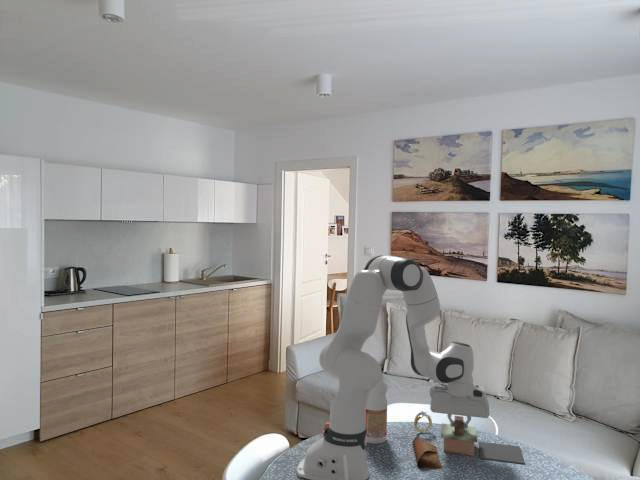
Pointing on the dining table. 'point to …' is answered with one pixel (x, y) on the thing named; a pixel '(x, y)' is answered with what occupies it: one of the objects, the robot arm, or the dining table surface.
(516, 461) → the mat
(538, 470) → the dining table surface
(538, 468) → the dining table surface
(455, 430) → the lid
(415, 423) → the ring
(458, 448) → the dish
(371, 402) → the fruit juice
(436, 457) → the sunglasses case
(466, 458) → the dining table surface
